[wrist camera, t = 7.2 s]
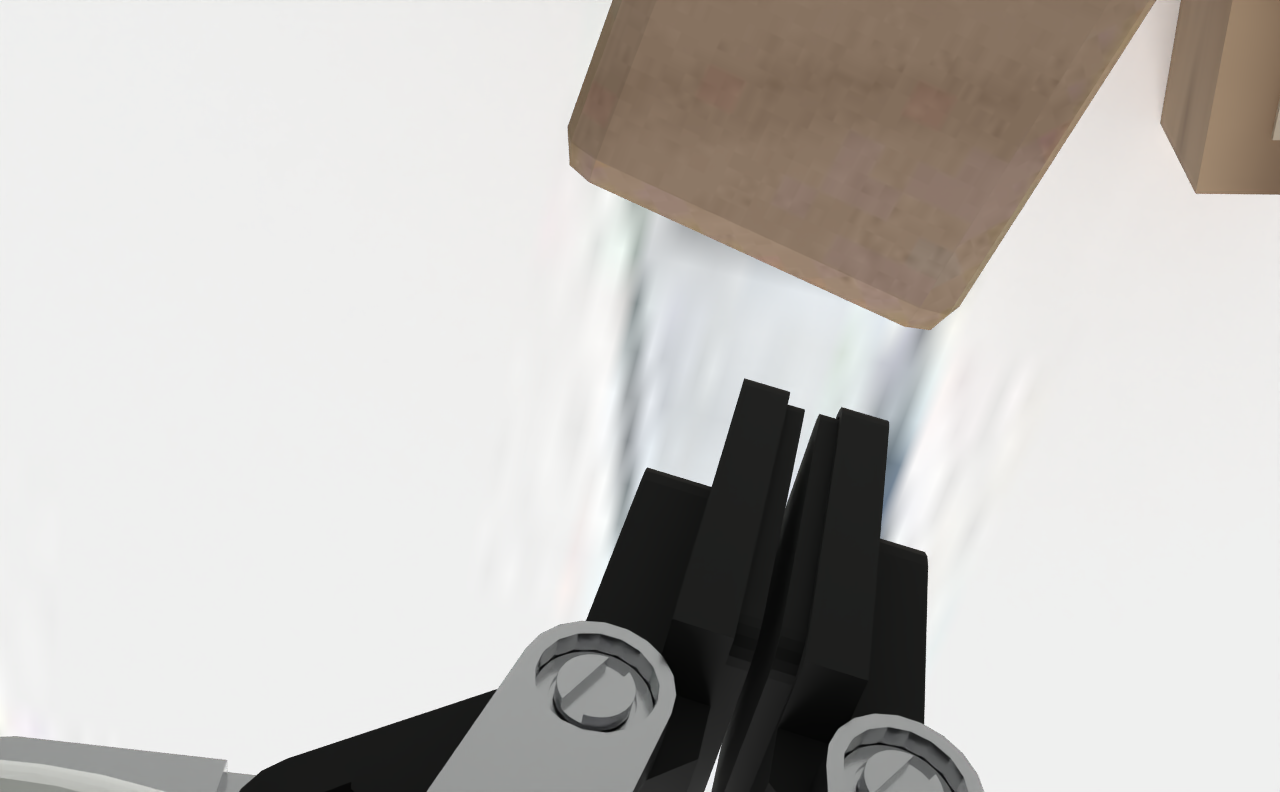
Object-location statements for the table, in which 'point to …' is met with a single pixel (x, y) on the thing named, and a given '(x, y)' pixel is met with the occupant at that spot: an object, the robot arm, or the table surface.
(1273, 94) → the walnut block
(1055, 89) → the block
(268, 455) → the table surface
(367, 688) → the table surface
